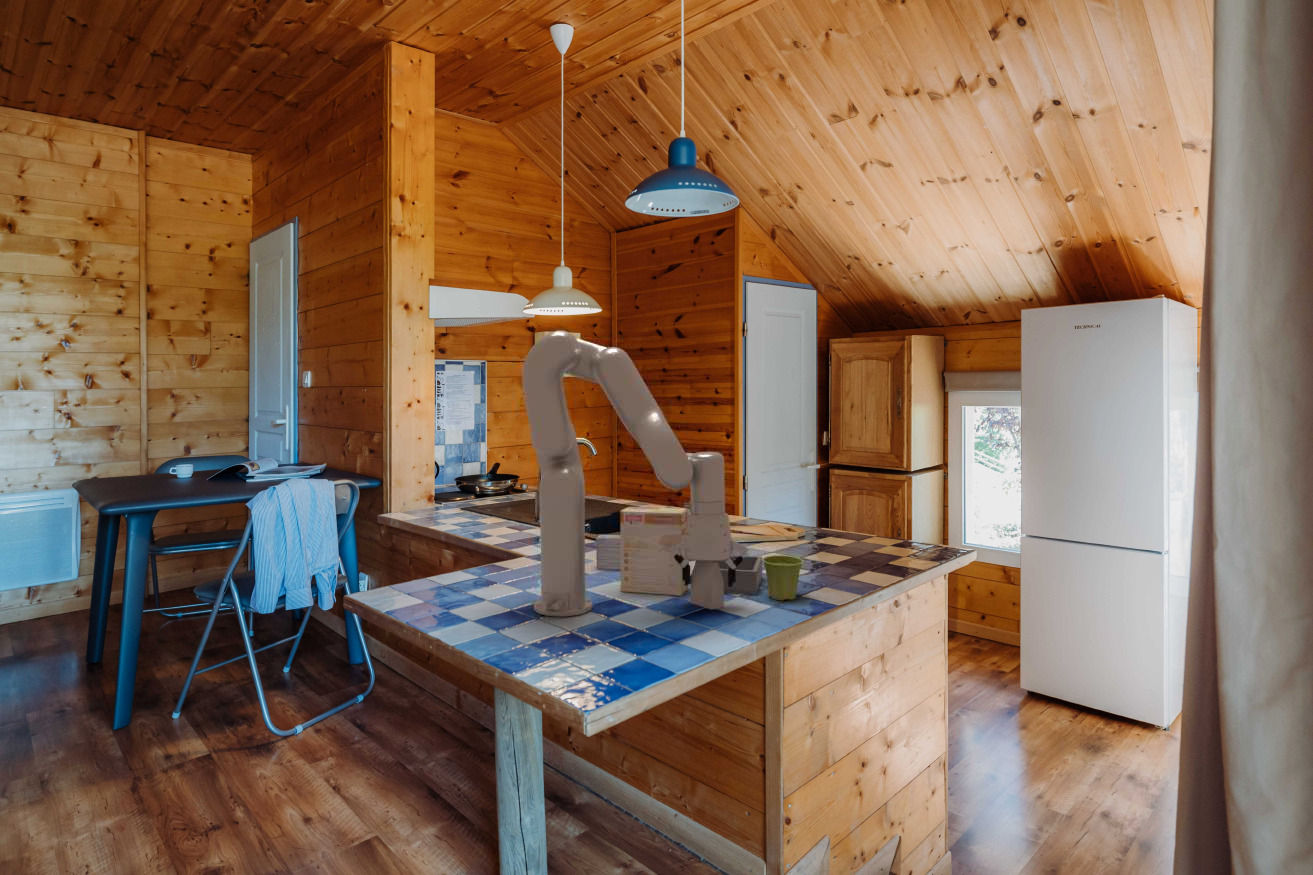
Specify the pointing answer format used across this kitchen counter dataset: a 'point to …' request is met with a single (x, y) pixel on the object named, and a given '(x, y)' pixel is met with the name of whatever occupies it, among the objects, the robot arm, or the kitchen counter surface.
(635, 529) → the coffeecake box
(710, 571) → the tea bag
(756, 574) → the walled box
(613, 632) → the kitchen counter surface
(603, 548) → the medicine box
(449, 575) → the kitchen counter surface
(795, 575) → the plant pot
